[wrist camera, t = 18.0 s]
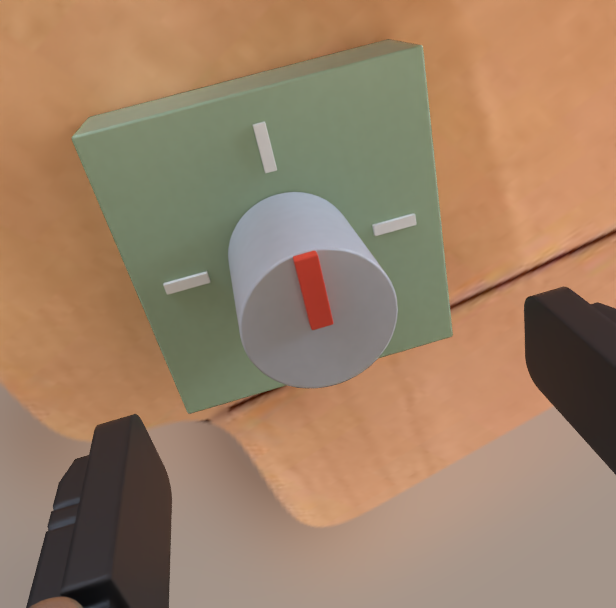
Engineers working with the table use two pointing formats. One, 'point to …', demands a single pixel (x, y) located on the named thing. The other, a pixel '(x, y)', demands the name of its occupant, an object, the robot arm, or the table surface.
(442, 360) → the table surface
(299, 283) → the lock knob
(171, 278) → the green dial knob panel
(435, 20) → the table surface
